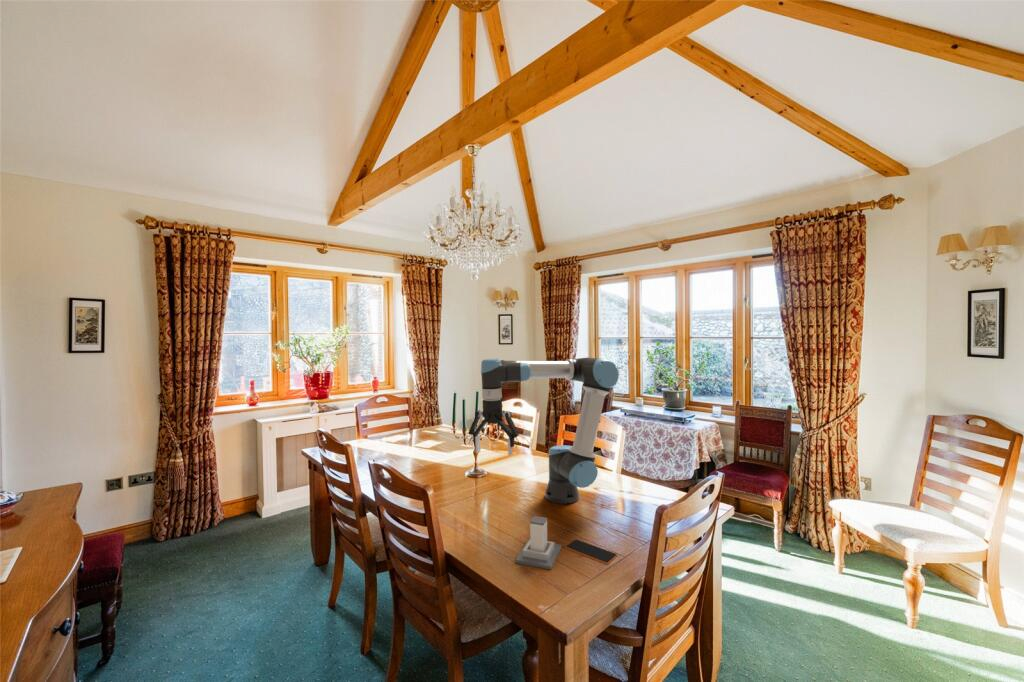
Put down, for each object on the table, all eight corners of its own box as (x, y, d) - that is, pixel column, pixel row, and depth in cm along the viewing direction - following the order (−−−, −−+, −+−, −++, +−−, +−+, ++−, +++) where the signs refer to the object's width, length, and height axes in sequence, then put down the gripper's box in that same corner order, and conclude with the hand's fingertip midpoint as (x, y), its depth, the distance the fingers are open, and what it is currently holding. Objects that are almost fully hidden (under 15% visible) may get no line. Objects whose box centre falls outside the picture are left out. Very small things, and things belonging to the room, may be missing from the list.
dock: (528, 542, 149) (528, 533, 149) (561, 547, 145) (561, 539, 144) (515, 562, 136) (515, 553, 136) (550, 569, 131) (550, 560, 131)
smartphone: (575, 540, 150) (575, 538, 150) (618, 556, 140) (618, 554, 139) (564, 548, 145) (564, 546, 145) (607, 566, 134) (607, 563, 134)
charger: (534, 547, 143) (534, 515, 143) (547, 550, 141) (547, 517, 141) (530, 554, 139) (530, 521, 138) (543, 556, 137) (543, 523, 137)
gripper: (458, 399, 161) (460, 454, 162) (519, 401, 152) (521, 459, 153) (467, 396, 168) (469, 448, 169) (525, 398, 159) (527, 453, 160)
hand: (494, 453), depth 161 cm, fingers open, 13 cm apart
